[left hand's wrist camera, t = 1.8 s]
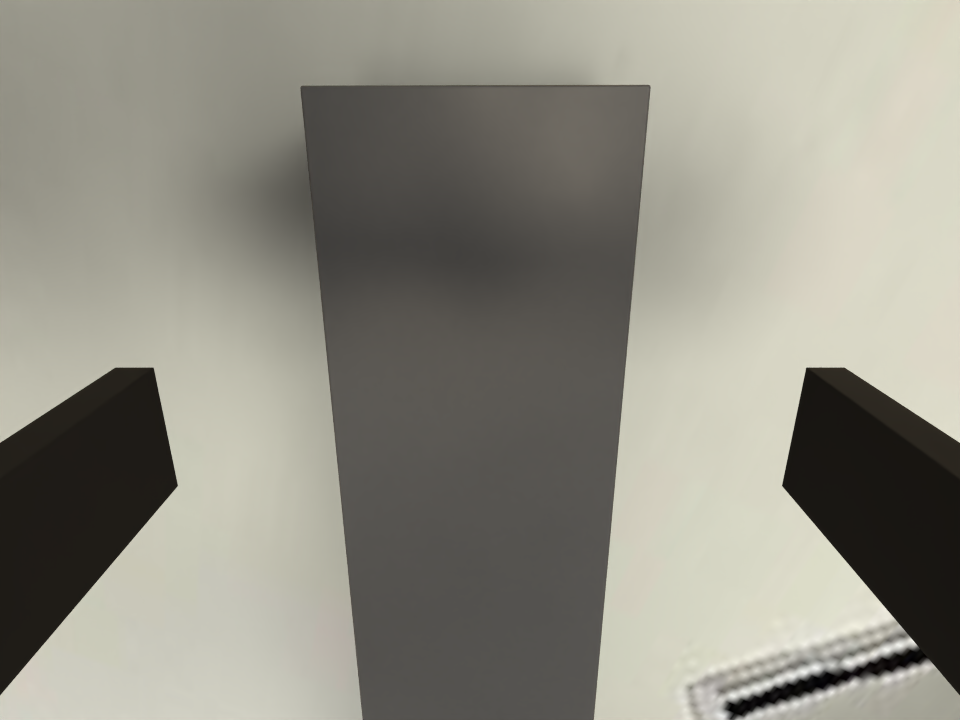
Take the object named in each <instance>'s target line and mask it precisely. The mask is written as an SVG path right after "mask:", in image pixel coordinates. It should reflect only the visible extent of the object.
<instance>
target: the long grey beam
mask: <svg viewBox="0 0 960 720" xmlns="http://www.w3.org/2000/svg"><path fill="white" fill-rule="evenodd" d="M301 98H302V108H303V118H304V128H305V138H306V148H307V158H308V169H309V179H310V189H311V199H312V209H313V219H314V229H315V240H316V250H317V260H318V270H319V280H320V290H321V300H322V311H323V321H324V331H325V341H326V351H327V361H328V371H329V382H330V392H331V402H332V412H333V422H334V432H335V442H336V453H337V463H338V473H339V483H340V493H341V503H342V513H343V524H344V534H345V544H346V554H347V564H348V574H349V584H350V595H351V605H352V615H353V625H354V635H355V645H356V656H357V666H358V676H359V686H360V696H361V706H362V716H363V720H594V711H595V699H596V688H597V677H598V666H599V655H600V644H601V633H602V621H603V610H604V599H605V588H606V577H607V566H608V555H609V544H610V532H611V521H612V510H613V499H614V488H615V477H616V466H617V454H618V443H619V432H620V421H621V410H622V399H623V388H624V376H625V365H626V354H627V343H628V332H629V321H630V310H631V299H632V287H633V276H634V265H635V254H636V243H637V232H638V221H639V209H640V198H641V187H642V176H643V165H644V154H645V143H646V131H647V120H648V109H649V98H650V85H419V86H301Z"/></svg>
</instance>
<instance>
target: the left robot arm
mask: <svg viewBox="0 0 960 720" xmlns="http://www.w3.org/2000/svg"><path fill="white" fill-rule="evenodd" d="M177 486H178V484H177V479H176V475H175V470H174V465H173V460H172V455H171V450H170V445H169V441H168V436H167V431H166V426H165V421H164V416H163V411H162V406H161V402H160V397H159V392H158V387H157V382H156V377H155V372H154V368H114V369H113V370H111V371H110V372H108V373H107V374H105V375H104V376H102V377H100V378H99V379H97V380H96V381H94V382H93V383H91V384H90V385H88V386H87V387H85V388H84V389H82V390H81V391H79V392H78V393H76V394H74V395H73V396H71V397H70V398H68V399H67V400H65V401H64V402H62V403H61V404H59V405H58V406H56V407H55V408H53V409H51V410H50V411H48V412H47V413H45V414H44V415H42V416H41V417H39V418H38V419H36V420H35V421H33V422H32V423H30V424H28V425H27V426H25V427H24V428H22V429H21V430H19V431H18V432H16V433H15V434H13V435H12V436H10V437H9V438H7V439H6V440H4V441H2V442H1V443H0V695H1V694H2V692H3V691H4V690H5V689H6V688H7V687H8V685H9V684H10V683H11V682H12V681H13V679H14V678H15V677H16V676H17V675H18V674H19V672H20V671H21V670H22V669H23V668H24V666H25V665H26V664H27V663H28V662H29V661H30V659H31V658H32V657H33V656H34V655H35V654H36V652H37V651H38V650H39V649H40V648H41V646H42V645H43V644H44V643H45V642H46V641H47V639H48V638H49V637H50V636H51V635H52V634H53V632H54V631H55V630H56V629H57V628H58V626H59V625H60V624H61V623H62V622H63V621H64V619H65V618H66V617H67V616H68V615H69V613H70V612H71V611H72V610H73V609H74V608H75V606H76V605H77V604H78V603H79V602H80V601H81V599H82V598H83V597H84V596H85V595H86V593H87V592H88V591H89V590H90V589H91V588H92V586H93V585H94V584H95V583H96V582H97V580H98V579H99V578H100V577H101V576H102V575H103V573H104V572H105V571H106V570H107V569H108V568H109V566H110V565H111V564H112V563H113V562H114V560H115V559H116V558H117V557H118V556H119V555H120V553H121V552H122V551H123V550H124V549H125V547H126V546H127V545H128V544H129V543H130V542H131V540H132V539H133V538H134V537H135V536H136V535H137V533H138V532H139V531H140V530H141V529H142V527H143V526H144V525H145V524H146V523H147V522H148V520H149V519H150V518H151V517H152V516H153V514H154V513H155V512H156V511H157V510H158V509H159V507H160V506H161V505H162V504H163V503H164V502H165V500H166V499H167V498H168V497H169V496H170V494H171V493H172V492H173V491H174V490H175V489H176V487H177ZM782 486H783V487H784V489H785V490H786V491H787V492H788V493H789V494H790V496H791V497H792V498H793V499H794V500H795V502H796V503H797V504H798V505H799V506H800V507H801V509H802V510H803V511H804V512H805V513H806V514H807V516H808V517H809V518H810V519H811V520H812V522H813V523H814V524H815V525H816V526H817V527H818V529H819V530H820V531H821V532H822V533H823V535H824V536H825V537H826V538H827V539H828V540H829V542H830V543H831V544H832V545H833V546H834V547H835V549H836V550H837V551H838V552H839V553H840V555H841V556H842V557H843V558H844V559H845V560H846V562H847V563H848V564H849V565H850V566H851V568H852V569H853V570H854V571H855V572H856V573H857V575H858V576H859V577H860V578H861V579H862V580H863V582H864V583H865V584H866V585H867V586H868V588H869V589H870V590H871V591H872V592H873V593H874V595H875V596H876V597H877V598H878V599H879V601H880V602H881V603H882V604H883V605H884V606H885V608H886V609H887V610H888V611H889V612H890V613H891V615H892V616H893V617H894V618H895V619H896V621H897V622H898V623H899V624H900V625H901V626H902V628H903V629H904V630H905V631H906V632H907V634H908V635H909V636H910V637H911V638H912V639H913V641H914V642H915V643H916V644H917V645H918V646H919V648H920V649H921V650H922V651H923V652H924V654H925V655H926V656H927V657H928V658H929V659H930V661H931V662H932V663H933V664H934V665H935V666H936V668H937V669H938V670H939V671H940V672H941V674H942V675H943V676H944V677H945V678H946V679H947V681H948V682H949V683H950V684H951V685H952V687H953V688H954V689H955V690H956V691H957V692H958V694H959V695H960V443H959V442H958V441H956V440H954V439H953V438H951V437H950V436H948V435H947V434H945V433H944V432H942V431H941V430H939V429H938V428H936V427H935V426H933V425H932V424H930V423H928V422H927V421H925V420H924V419H922V418H921V417H919V416H918V415H916V414H915V413H913V412H912V411H910V410H909V409H907V408H905V407H904V406H902V405H901V404H899V403H898V402H896V401H895V400H893V399H892V398H890V397H889V396H887V395H886V394H884V393H882V392H881V391H879V390H878V389H876V388H875V387H873V386H872V385H870V384H869V383H867V382H866V381H864V380H863V379H861V378H860V377H858V376H856V375H855V374H853V373H852V372H850V371H849V370H847V369H846V368H806V372H805V377H804V382H803V387H802V392H801V397H800V402H799V406H798V411H797V416H796V421H795V426H794V431H793V436H792V440H791V445H790V450H789V455H788V460H787V465H786V470H785V475H784V479H783V484H782Z"/></svg>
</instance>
